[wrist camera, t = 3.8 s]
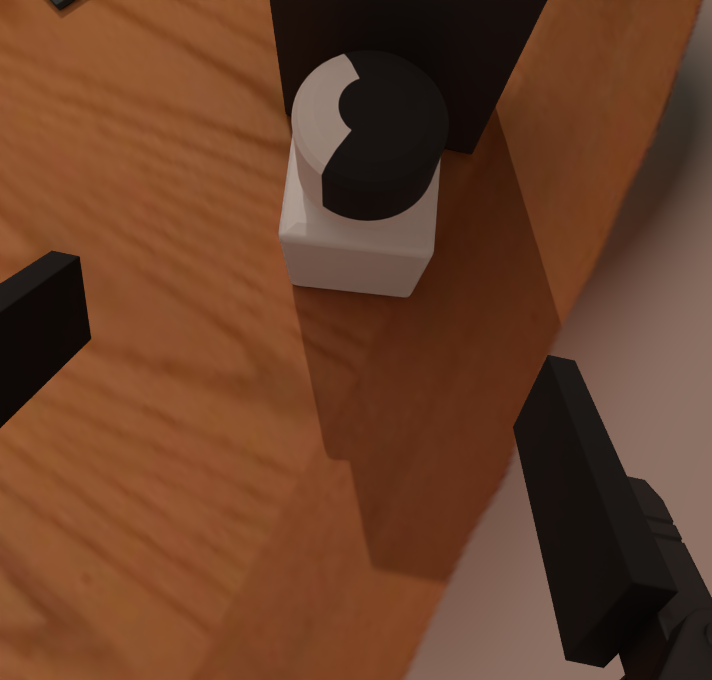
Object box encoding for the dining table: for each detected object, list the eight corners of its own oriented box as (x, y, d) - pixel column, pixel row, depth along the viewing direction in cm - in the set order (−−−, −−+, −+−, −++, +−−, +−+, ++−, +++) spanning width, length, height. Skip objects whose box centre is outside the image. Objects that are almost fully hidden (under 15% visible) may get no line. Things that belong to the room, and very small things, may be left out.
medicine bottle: (419, 189, 31) (473, 35, 19) (410, 299, 30) (462, 207, 18) (304, 175, 31) (287, 12, 19) (289, 286, 29) (261, 184, 18)
